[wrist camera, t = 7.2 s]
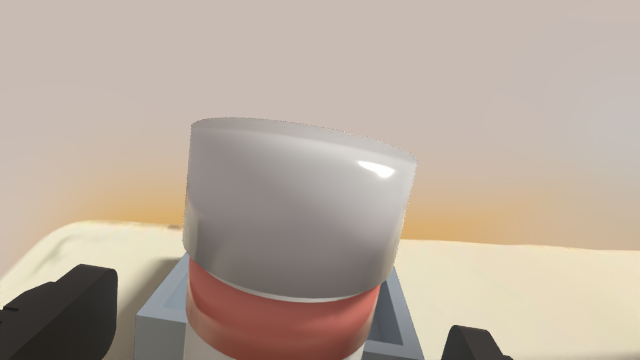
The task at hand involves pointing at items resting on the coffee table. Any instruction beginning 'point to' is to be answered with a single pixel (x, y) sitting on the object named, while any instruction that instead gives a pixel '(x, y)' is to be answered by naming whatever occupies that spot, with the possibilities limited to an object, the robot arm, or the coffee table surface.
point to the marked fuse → (288, 238)
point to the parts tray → (170, 322)
